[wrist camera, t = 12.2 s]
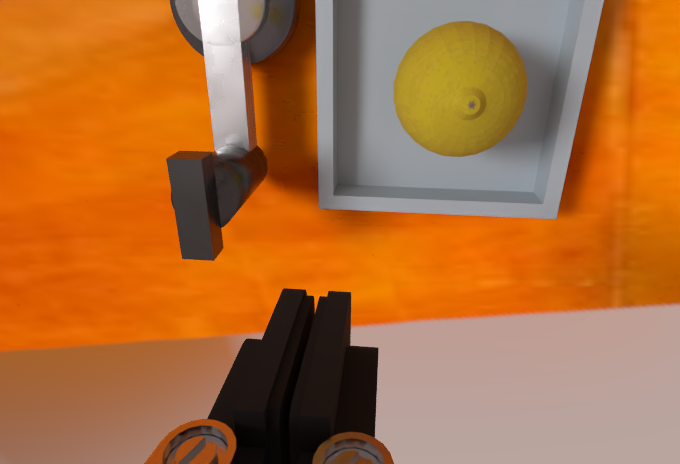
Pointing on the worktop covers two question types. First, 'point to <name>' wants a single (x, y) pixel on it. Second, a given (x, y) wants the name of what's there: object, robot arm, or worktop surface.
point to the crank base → (268, 39)
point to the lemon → (460, 89)
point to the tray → (411, 158)
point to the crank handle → (219, 126)
